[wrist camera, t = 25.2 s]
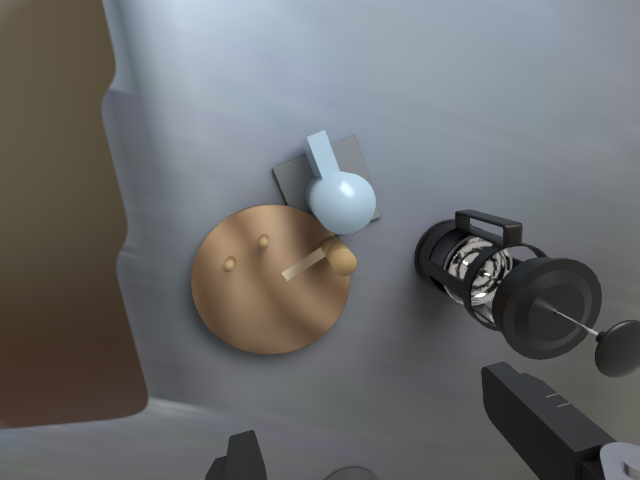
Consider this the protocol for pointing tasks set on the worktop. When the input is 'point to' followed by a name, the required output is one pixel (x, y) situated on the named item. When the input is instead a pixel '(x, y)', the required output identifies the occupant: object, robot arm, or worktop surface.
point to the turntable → (271, 279)
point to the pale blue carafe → (336, 190)
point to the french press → (526, 293)
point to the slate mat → (300, 172)
